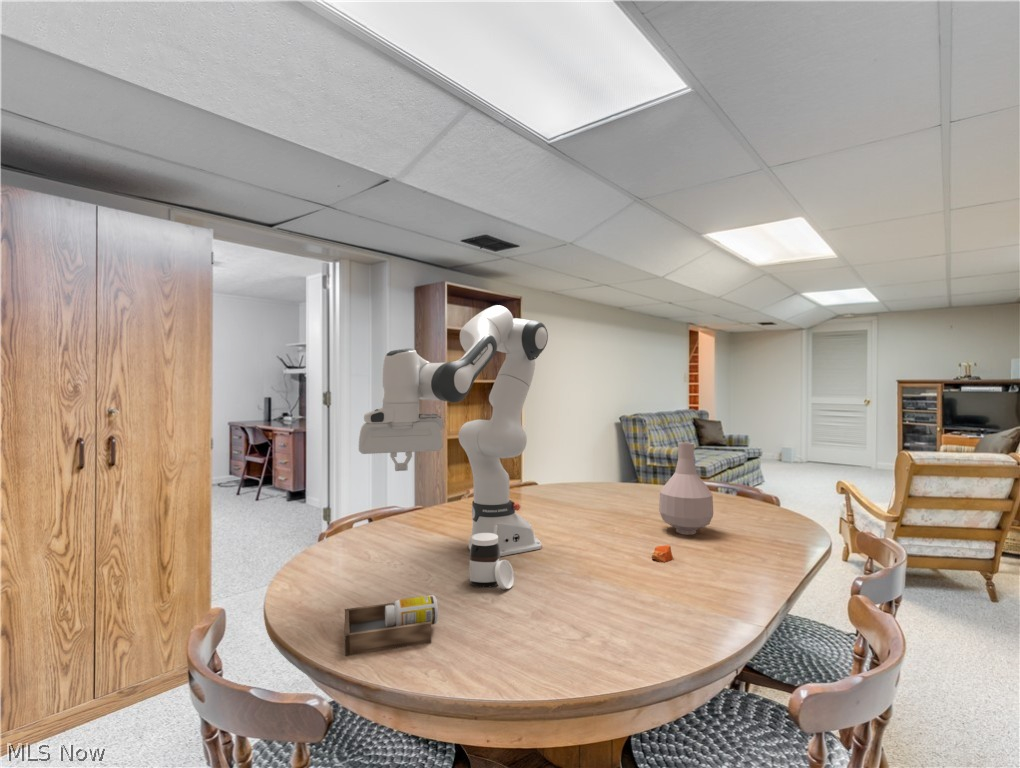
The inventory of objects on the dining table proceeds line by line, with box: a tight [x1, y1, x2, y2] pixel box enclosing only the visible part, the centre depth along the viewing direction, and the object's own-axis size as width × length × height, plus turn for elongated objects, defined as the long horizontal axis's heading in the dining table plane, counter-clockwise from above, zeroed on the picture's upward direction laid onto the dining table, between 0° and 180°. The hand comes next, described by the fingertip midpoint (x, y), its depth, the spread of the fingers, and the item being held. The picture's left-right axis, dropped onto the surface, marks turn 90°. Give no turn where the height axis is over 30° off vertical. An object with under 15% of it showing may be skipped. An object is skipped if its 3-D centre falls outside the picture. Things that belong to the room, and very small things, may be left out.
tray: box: [344, 602, 432, 657], centre depth 105 cm, size 16×12×4 cm
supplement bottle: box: [385, 594, 439, 627], centre depth 107 cm, size 6×6×10 cm
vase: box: [658, 441, 714, 536], centre depth 177 cm, size 18×18×30 cm
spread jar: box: [469, 533, 515, 590], centre depth 132 cm, size 12×11×12 cm
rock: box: [651, 544, 674, 563], centre depth 150 cm, size 12×12×4 cm
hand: (401, 470), depth 128 cm, fingers closed
